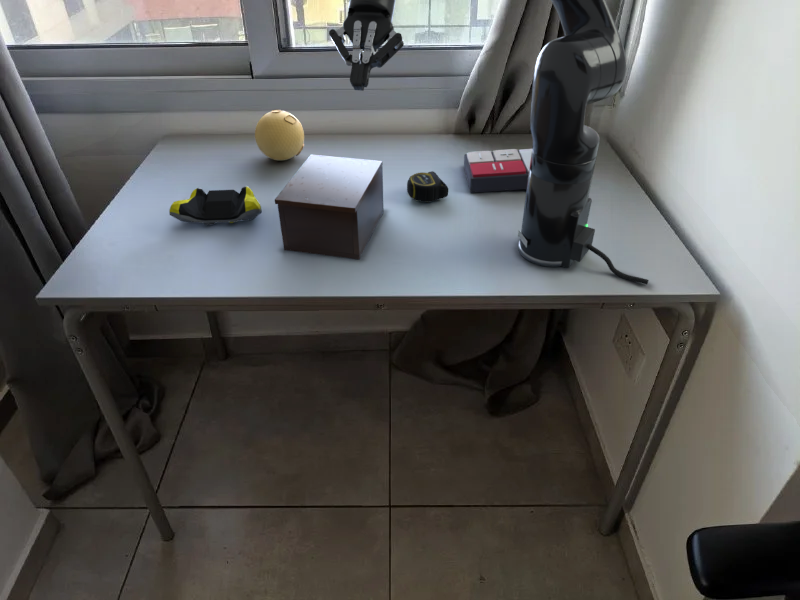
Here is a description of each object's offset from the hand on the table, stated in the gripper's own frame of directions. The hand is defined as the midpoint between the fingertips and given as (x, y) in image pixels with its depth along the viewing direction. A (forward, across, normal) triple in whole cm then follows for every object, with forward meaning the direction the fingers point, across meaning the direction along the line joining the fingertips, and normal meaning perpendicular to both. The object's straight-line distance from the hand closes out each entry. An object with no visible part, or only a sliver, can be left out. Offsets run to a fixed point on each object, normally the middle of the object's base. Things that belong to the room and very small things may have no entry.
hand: (358, 88), depth 102 cm
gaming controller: (+23, -22, +6) cm, 33 cm away
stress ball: (+5, -21, +25) cm, 33 cm away
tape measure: (+12, +11, +18) cm, 24 cm away
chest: (+22, -2, +7) cm, 24 cm away
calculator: (+5, +25, +25) cm, 35 cm away
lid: (+16, -2, 0) cm, 17 cm away
